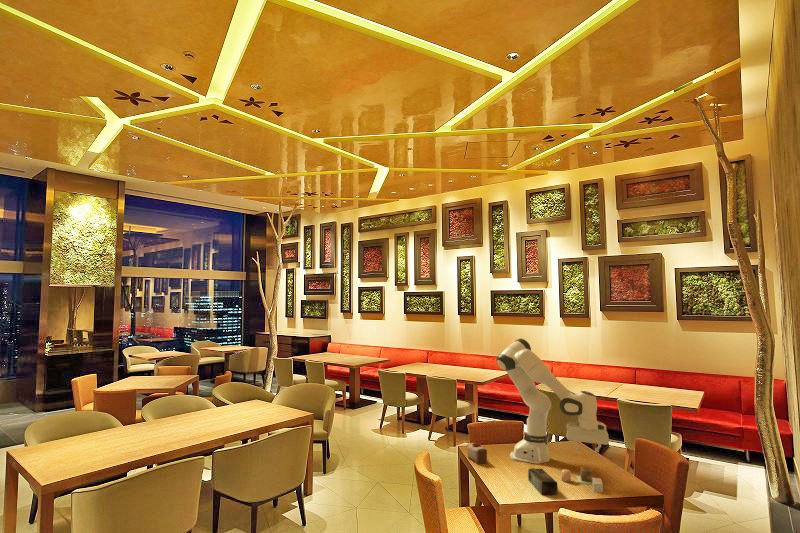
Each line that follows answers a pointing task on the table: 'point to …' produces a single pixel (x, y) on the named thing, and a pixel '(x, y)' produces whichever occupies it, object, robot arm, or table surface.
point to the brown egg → (566, 475)
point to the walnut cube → (586, 474)
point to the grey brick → (597, 485)
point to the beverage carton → (542, 481)
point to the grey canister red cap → (477, 453)
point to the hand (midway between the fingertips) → (587, 451)
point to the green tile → (583, 481)
